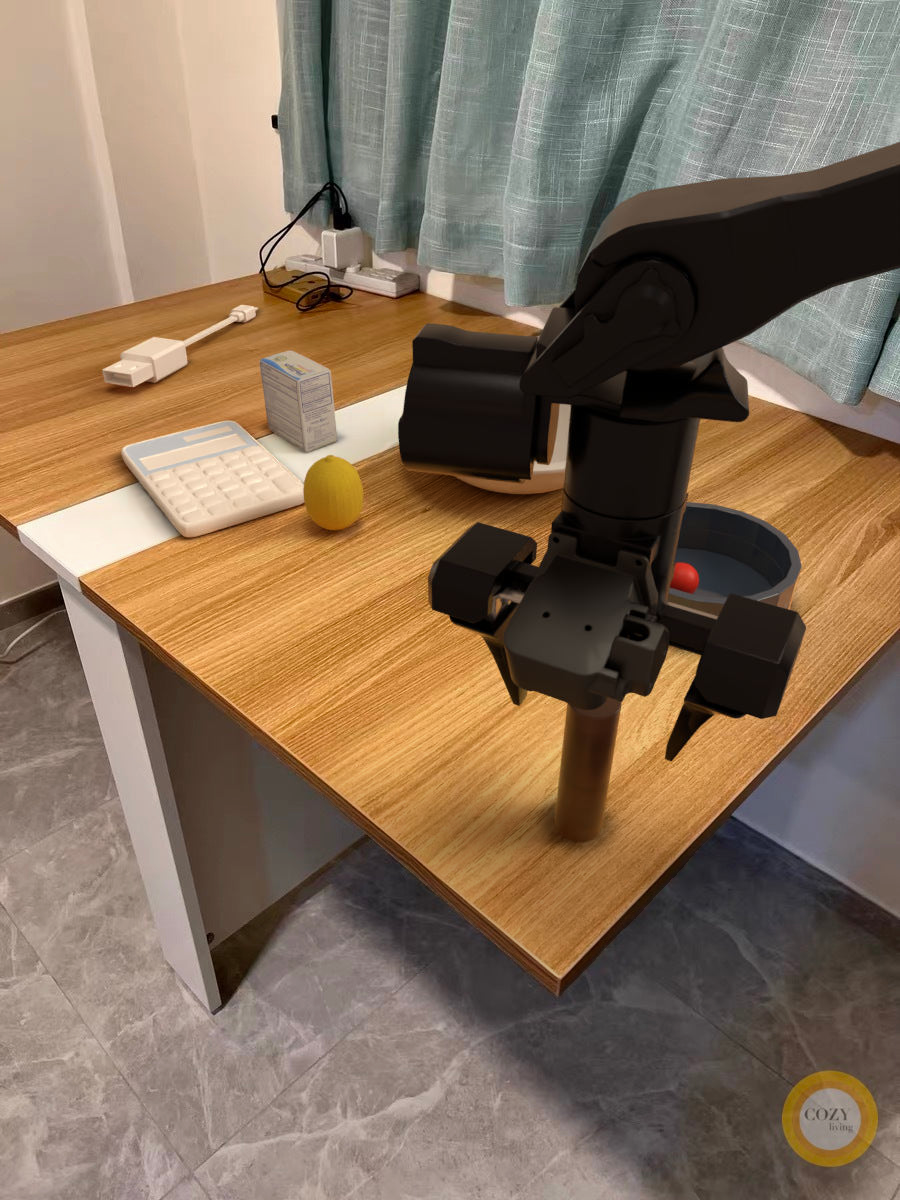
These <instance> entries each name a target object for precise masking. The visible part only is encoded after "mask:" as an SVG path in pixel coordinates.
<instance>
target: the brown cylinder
mask: <svg viewBox="0 0 900 1200" xmlns="http://www.w3.org/2000/svg"><path fill="white" fill-rule="evenodd" d="M622 703H623V702H619V701H616V700H613V699H610V698H608V699H607V700H606V702H605V703H604V704H603V705H602V706H600V707H599V708H597V709H594V710H581V709H578V708H575V707H572V706H570V705H569V704H568V703H566V711H565V720H564V729H563V737H562V738H563V739H562V747H561V755H560V756H561V757H560V763H559V764H560V765H559V774H558V782H557V783H558V784H557V793H556V802H555V809H554V810H555V811H554V818H553V820H554V821H553V822H554V823H553V824H554V827H555V828H556V831H557V832H558V833H559V834H560V835H561V836H562V837H563V838H565V839H567V840H569V841H572V842H577V843H585V842H590V841H592V840H594V839H596V838H597V837H598V836H599V835H600V833H601V832H602V829H603V822H604V819H605V817H604V816H605V811H606V805H607V798H608V792H609V788H610V787H609V786H610V780H611V775H612V774H611V773H612V768H613V761H614V755H615V748H616V743H617V738H618V737H617V736H618V729H619V723H620V718H621V710H622Z"/></svg>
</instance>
